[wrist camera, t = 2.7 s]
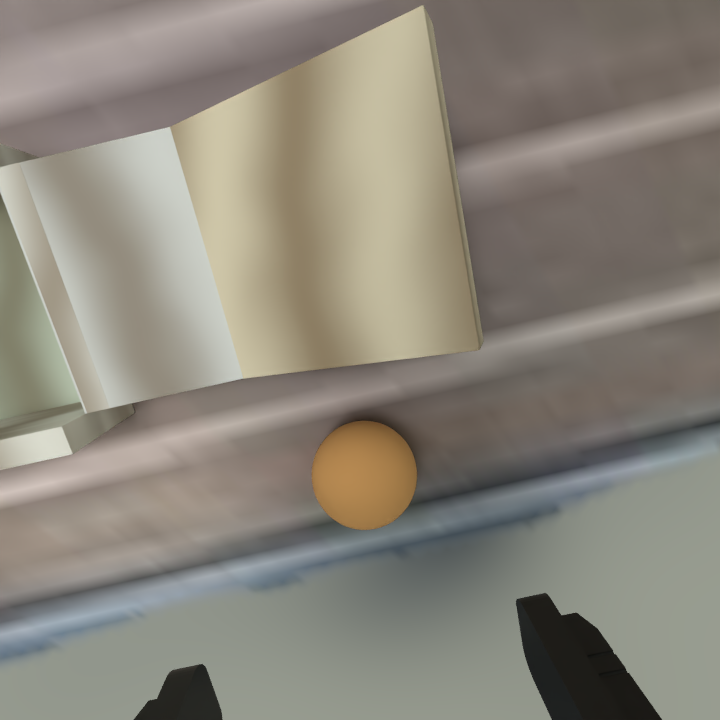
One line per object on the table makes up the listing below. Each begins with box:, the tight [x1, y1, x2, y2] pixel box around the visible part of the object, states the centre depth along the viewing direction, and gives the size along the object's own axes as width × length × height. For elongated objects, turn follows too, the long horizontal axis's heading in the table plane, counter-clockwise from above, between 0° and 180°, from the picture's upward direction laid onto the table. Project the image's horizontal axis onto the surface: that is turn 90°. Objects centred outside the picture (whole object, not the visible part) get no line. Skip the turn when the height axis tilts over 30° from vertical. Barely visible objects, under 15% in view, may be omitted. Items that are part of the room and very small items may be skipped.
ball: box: [312, 421, 417, 530], centre depth 20 cm, size 5×5×5 cm
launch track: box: [0, 5, 483, 470], centre depth 16 cm, size 26×12×8 cm, turn 103°
